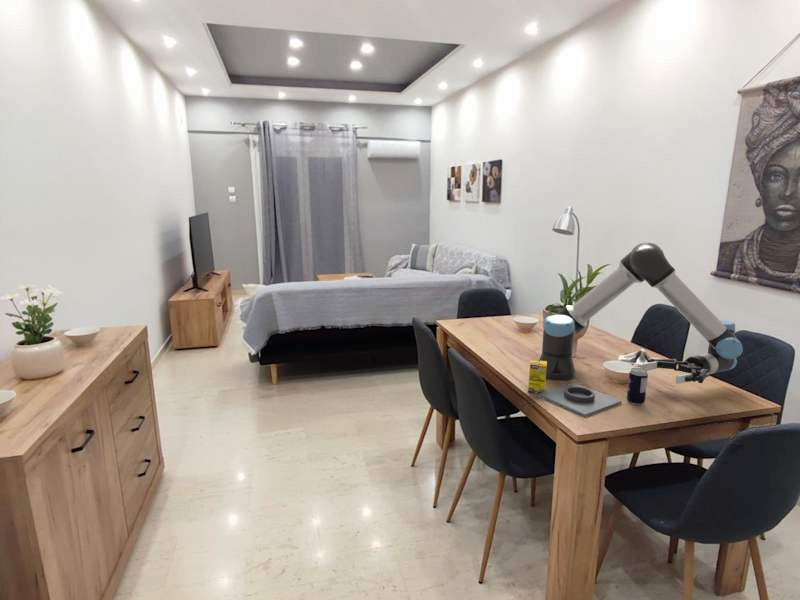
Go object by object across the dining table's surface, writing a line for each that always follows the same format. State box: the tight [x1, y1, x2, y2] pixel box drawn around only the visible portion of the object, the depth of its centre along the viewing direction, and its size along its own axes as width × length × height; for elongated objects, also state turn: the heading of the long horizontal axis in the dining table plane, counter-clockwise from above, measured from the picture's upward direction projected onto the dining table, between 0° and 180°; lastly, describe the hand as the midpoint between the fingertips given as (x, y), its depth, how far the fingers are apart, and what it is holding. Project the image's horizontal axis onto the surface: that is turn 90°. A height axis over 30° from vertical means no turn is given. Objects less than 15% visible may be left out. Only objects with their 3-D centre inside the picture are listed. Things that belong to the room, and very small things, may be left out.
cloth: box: [617, 348, 658, 368], centre depth 209 cm, size 22×19×6 cm
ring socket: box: [537, 382, 623, 418], centre depth 167 cm, size 20×20×3 cm
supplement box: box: [527, 359, 547, 394], centre depth 174 cm, size 6×6×11 cm
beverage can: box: [626, 367, 649, 406], centre depth 164 cm, size 6×6×12 cm
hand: (659, 373), depth 166 cm, fingers open, 13 cm apart
